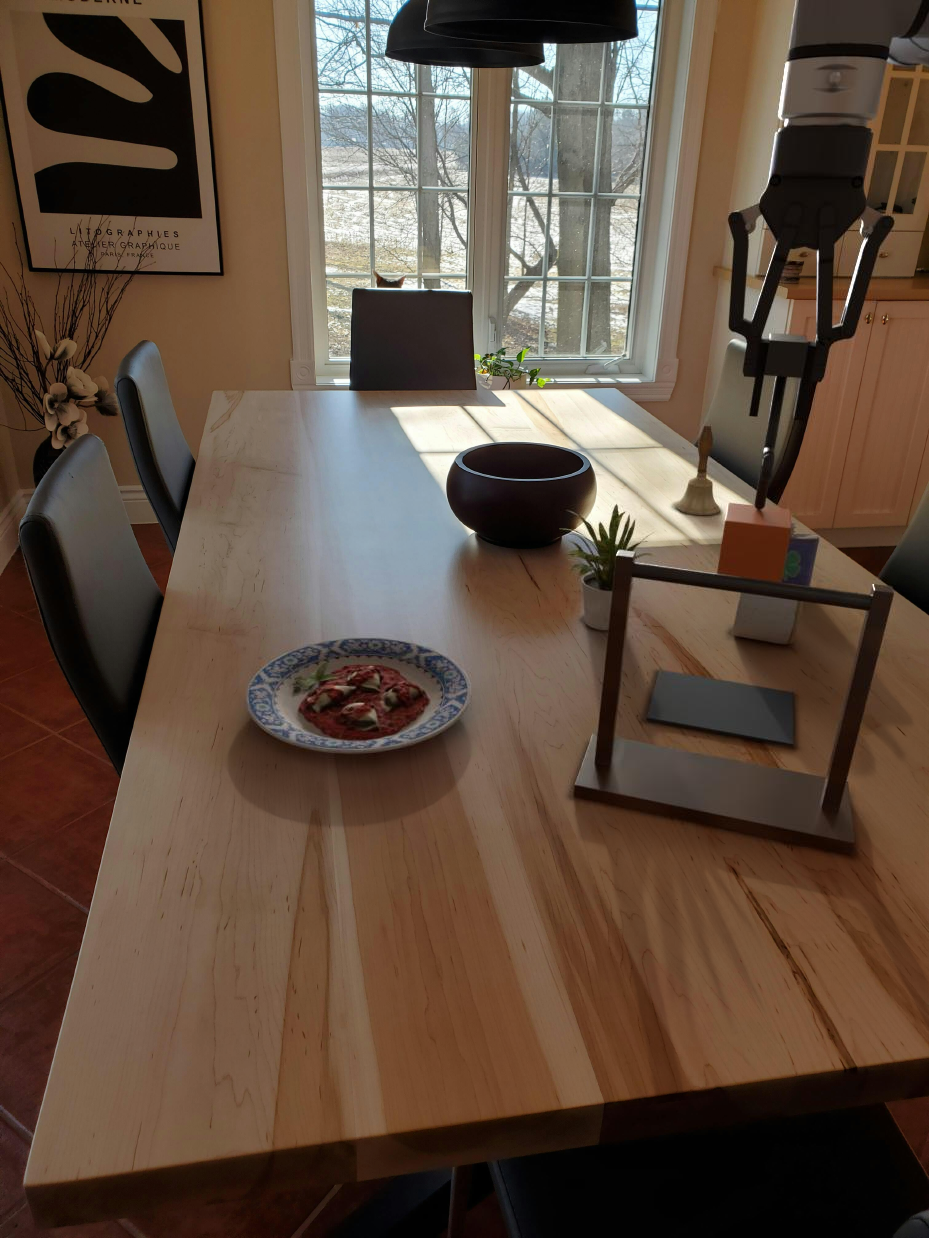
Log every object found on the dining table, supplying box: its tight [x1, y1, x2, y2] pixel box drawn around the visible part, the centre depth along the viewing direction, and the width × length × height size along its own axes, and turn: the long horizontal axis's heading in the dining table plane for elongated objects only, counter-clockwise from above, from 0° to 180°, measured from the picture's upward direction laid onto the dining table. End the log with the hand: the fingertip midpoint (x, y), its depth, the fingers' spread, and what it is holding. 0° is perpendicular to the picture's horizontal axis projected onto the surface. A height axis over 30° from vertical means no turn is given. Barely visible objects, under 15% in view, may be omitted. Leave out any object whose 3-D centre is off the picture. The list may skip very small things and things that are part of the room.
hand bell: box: [674, 424, 721, 516], centre depth 168 cm, size 8×8×16 cm
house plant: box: [560, 503, 655, 631], centre depth 123 cm, size 14×14×16 cm
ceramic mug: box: [731, 593, 804, 645], centre depth 122 cm, size 11×8×8 cm
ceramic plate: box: [245, 636, 473, 755], centre depth 104 cm, size 26×26×3 cm
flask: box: [781, 522, 820, 586], centre depth 135 cm, size 9×3×11 cm, turn 80°
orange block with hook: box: [716, 332, 809, 582], centre depth 85 cm, size 6×6×22 cm
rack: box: [573, 550, 895, 856], centre depth 85 cm, size 26×10×24 cm, turn 72°
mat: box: [646, 669, 795, 748], centre depth 106 cm, size 16×12×1 cm
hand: (775, 414), depth 83 cm, fingers closed on orange block with hook, 3 cm apart
